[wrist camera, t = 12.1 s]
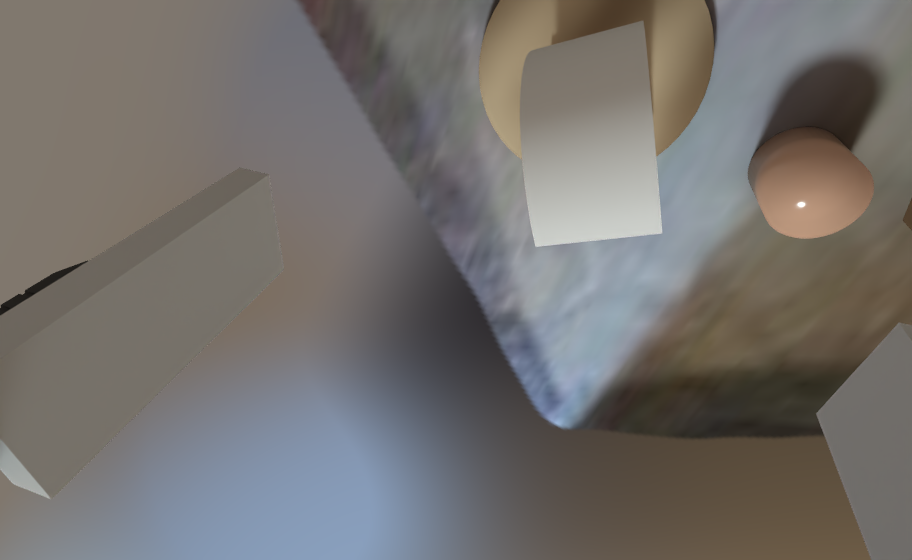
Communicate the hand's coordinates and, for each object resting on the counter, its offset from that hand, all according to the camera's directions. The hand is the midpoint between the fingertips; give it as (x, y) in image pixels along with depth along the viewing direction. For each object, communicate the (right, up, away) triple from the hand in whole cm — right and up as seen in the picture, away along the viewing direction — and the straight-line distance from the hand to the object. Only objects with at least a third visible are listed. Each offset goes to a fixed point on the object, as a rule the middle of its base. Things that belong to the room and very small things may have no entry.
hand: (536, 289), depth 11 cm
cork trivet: (+5, +12, +16) cm, 20 cm away
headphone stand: (+6, +11, +15) cm, 20 cm away
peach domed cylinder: (+17, +6, +16) cm, 24 cm away
